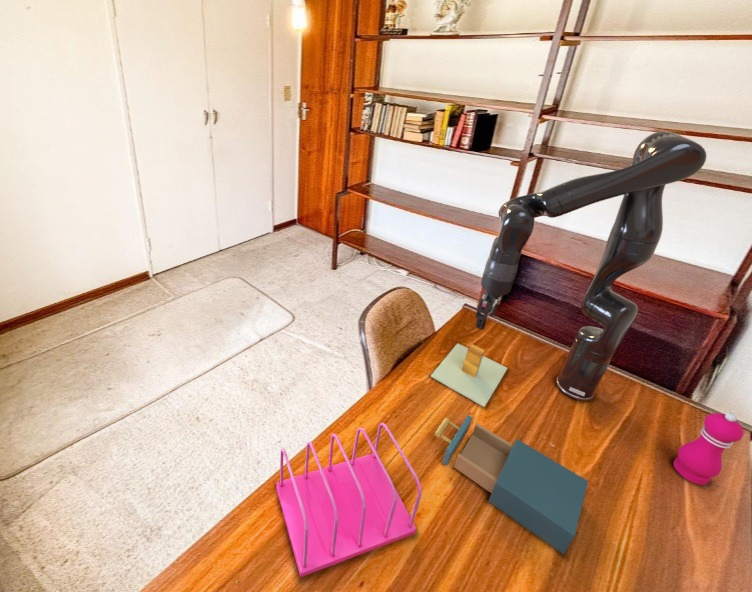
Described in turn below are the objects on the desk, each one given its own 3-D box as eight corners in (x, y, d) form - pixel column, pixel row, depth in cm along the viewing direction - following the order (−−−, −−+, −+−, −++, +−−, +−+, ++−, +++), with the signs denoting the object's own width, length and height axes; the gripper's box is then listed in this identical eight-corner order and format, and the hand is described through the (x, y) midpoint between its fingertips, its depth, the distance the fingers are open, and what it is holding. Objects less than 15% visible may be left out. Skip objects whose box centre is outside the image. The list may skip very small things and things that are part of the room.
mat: (457, 344, 133) (457, 343, 133) (507, 369, 123) (507, 367, 123) (430, 376, 120) (431, 375, 119) (484, 407, 110) (484, 405, 110)
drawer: (425, 451, 96) (429, 438, 94) (448, 417, 105) (452, 405, 103) (501, 504, 86) (506, 490, 84) (519, 462, 95) (525, 448, 93)
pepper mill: (718, 490, 91) (766, 432, 82) (682, 483, 92) (726, 425, 84) (696, 461, 97) (739, 404, 89) (663, 455, 99) (702, 398, 90)
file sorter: (275, 487, 88) (276, 440, 81) (375, 457, 96) (383, 411, 89) (300, 578, 73) (303, 530, 67) (415, 534, 81) (429, 487, 74)
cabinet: (488, 501, 87) (495, 482, 84) (509, 456, 97) (516, 438, 94) (563, 554, 78) (574, 536, 75) (577, 499, 88) (588, 481, 85)
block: (465, 365, 123) (471, 343, 119) (478, 372, 121) (485, 350, 117) (461, 371, 121) (467, 348, 117) (474, 378, 119) (481, 355, 115)
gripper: (505, 289, 99) (489, 339, 106) (522, 268, 108) (506, 316, 115) (475, 277, 103) (462, 326, 110) (494, 259, 113) (481, 305, 120)
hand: (485, 321), depth 113 cm, fingers open, 8 cm apart
